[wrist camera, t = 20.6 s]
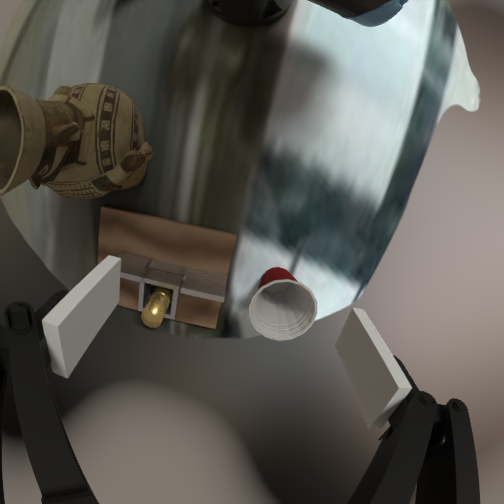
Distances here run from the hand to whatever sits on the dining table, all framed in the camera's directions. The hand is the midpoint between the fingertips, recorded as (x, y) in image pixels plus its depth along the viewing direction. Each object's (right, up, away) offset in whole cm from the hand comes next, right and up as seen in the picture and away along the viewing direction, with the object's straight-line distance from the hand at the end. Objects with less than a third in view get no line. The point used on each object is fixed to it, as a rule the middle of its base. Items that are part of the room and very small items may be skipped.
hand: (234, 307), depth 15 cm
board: (-17, 0, +39) cm, 42 cm away
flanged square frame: (-18, -1, +38) cm, 42 cm away
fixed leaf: (-11, -3, +39) cm, 40 cm away
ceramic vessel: (-24, +23, +30) cm, 45 cm away
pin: (-14, -2, +38) cm, 41 cm away
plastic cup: (+5, -2, +40) cm, 41 cm away
